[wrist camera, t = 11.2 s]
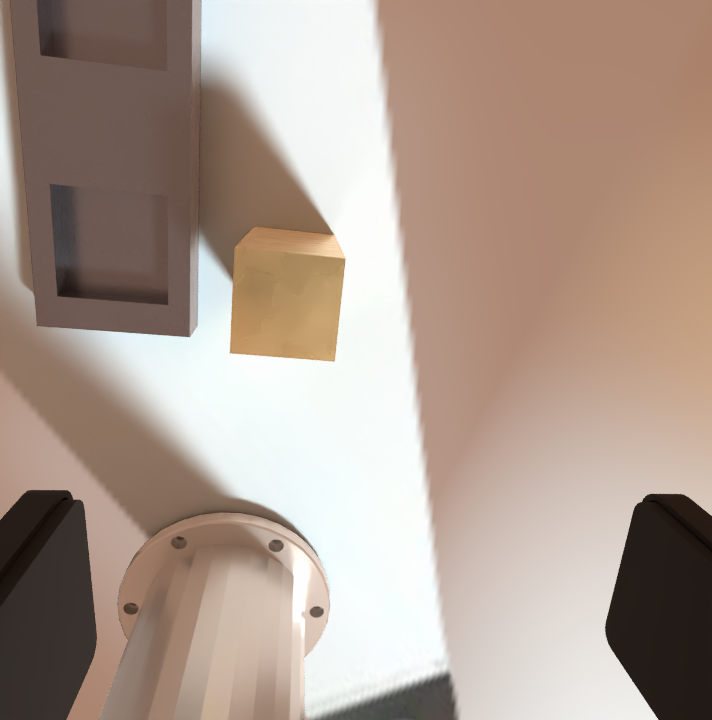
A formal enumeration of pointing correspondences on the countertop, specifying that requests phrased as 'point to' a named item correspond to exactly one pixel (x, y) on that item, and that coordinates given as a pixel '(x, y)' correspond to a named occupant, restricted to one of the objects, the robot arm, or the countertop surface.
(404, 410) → the countertop surface
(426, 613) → the countertop surface
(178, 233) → the grey slotted board
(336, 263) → the wooden block
